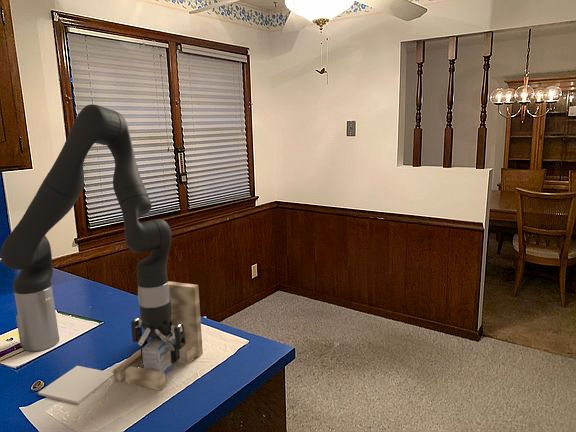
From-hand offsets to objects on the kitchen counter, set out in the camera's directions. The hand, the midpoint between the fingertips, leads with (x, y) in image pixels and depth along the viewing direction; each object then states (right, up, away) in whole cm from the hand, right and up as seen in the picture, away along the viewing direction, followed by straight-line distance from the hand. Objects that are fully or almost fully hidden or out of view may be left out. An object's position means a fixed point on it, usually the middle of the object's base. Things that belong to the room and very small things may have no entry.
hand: (160, 359), depth 111 cm
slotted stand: (-1, -3, +3) cm, 4 cm away
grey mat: (-19, -5, -5) cm, 20 cm away
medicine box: (0, -3, +1) cm, 4 cm away
